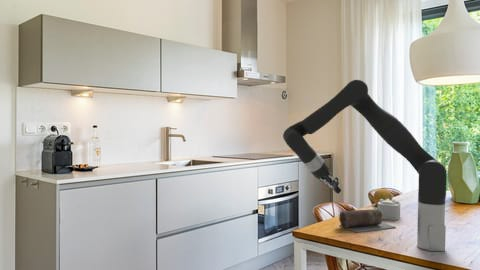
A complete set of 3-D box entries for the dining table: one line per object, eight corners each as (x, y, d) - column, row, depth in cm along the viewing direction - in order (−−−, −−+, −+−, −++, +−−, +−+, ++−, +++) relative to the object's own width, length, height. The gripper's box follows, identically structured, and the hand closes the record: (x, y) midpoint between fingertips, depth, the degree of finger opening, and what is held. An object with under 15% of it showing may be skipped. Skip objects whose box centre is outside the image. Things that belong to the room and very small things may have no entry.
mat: (356, 232, 164) (356, 231, 164) (339, 225, 175) (339, 224, 175) (395, 228, 173) (395, 226, 173) (376, 221, 184) (376, 220, 184)
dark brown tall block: (335, 213, 175) (372, 211, 181) (339, 229, 172) (376, 226, 178) (343, 209, 169) (381, 206, 175) (347, 225, 166) (386, 222, 172)
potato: (371, 206, 219) (371, 189, 219) (374, 202, 230) (375, 186, 230) (390, 208, 214) (390, 190, 214) (393, 204, 225) (393, 187, 225)
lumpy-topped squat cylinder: (375, 217, 192) (376, 200, 192) (381, 213, 203) (381, 196, 203) (397, 220, 187) (398, 203, 186) (402, 215, 198) (402, 198, 197)
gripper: (330, 160, 158) (353, 188, 163) (312, 157, 170) (335, 183, 175) (319, 173, 156) (343, 201, 161) (302, 169, 168) (325, 195, 173)
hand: (339, 191), depth 168 cm, fingers closed
